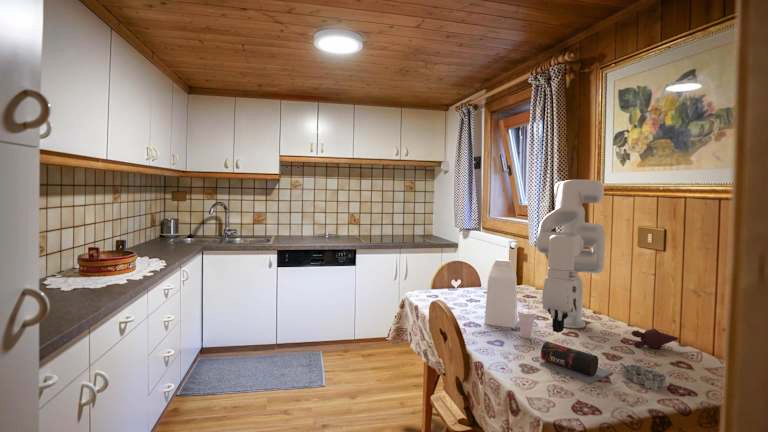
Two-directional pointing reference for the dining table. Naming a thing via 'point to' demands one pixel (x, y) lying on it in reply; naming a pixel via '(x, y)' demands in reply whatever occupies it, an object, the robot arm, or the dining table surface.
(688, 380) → the dining table surface
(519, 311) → the smoothie
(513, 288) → the milk
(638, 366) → the egg carton
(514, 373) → the dining table surface
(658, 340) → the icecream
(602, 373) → the felt mat
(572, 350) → the deodorant
